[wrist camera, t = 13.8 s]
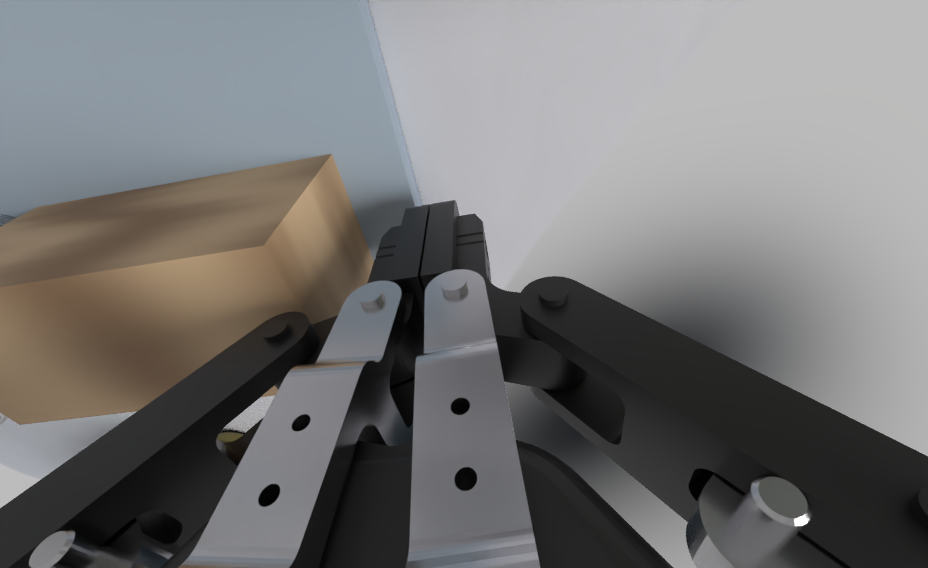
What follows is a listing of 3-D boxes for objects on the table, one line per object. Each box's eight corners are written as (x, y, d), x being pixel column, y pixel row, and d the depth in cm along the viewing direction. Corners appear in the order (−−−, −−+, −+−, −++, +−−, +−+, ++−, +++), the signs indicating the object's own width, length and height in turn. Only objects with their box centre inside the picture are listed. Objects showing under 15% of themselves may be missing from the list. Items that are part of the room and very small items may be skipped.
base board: (342, -95, 9) (328, -103, 8) (458, 342, 18) (458, 362, 17) (-211, 44, 11) (-277, 50, 10) (153, 380, 20) (137, 400, 19)
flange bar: (134, 309, 15) (19, 424, 11) (36, 206, 12) (-161, 312, 8) (378, 273, 14) (346, 387, 10) (331, 153, 11) (263, 245, 7)
